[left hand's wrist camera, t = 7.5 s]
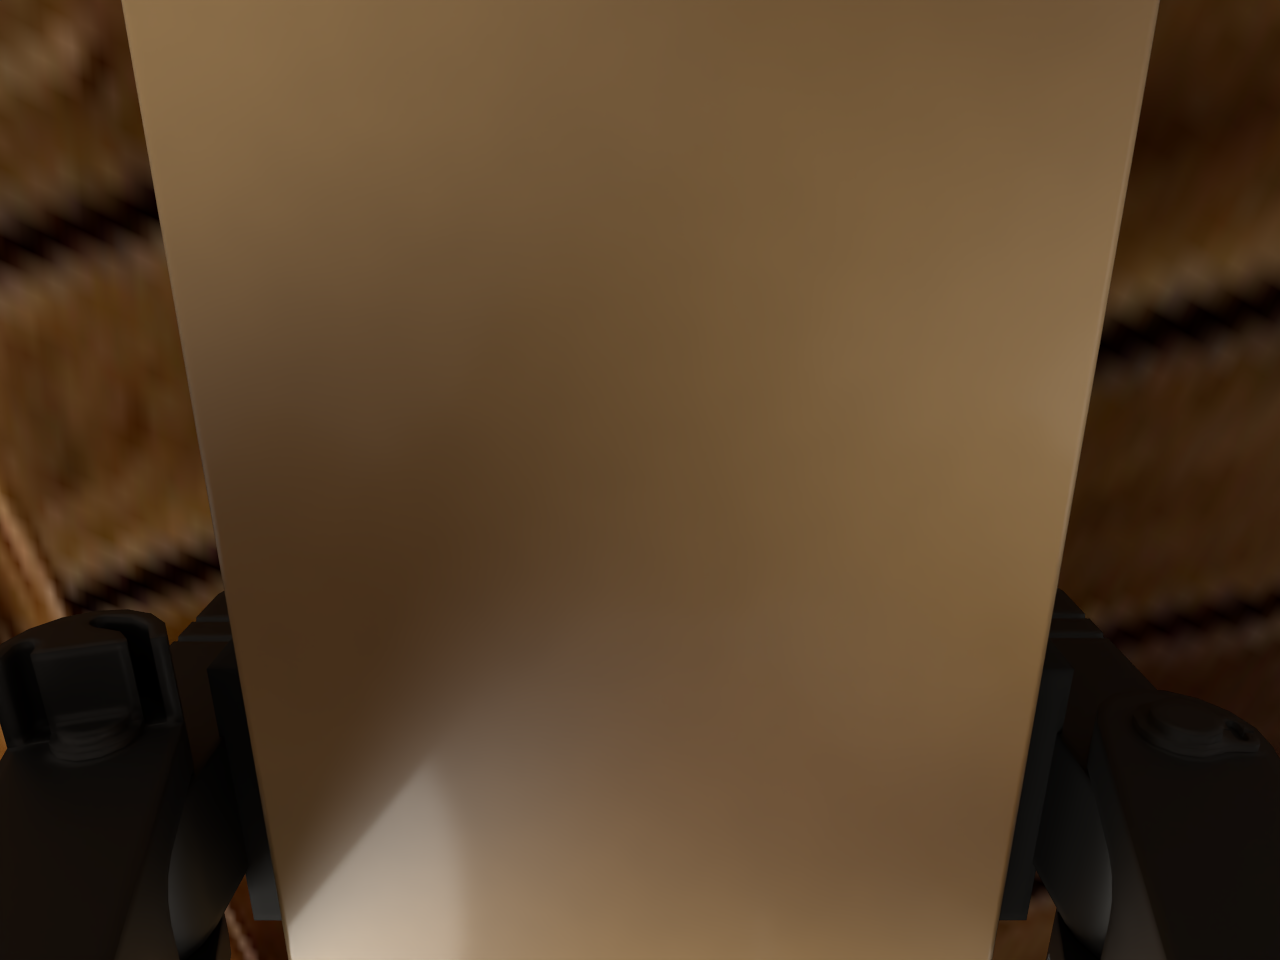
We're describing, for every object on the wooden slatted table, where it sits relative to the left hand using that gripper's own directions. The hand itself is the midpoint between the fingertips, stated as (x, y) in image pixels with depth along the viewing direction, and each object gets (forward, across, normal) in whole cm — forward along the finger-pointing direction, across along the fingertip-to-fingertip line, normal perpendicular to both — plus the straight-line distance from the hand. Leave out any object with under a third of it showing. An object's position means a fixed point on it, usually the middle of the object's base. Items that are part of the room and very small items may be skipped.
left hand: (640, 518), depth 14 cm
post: (0, 0, -22) cm, 22 cm away
